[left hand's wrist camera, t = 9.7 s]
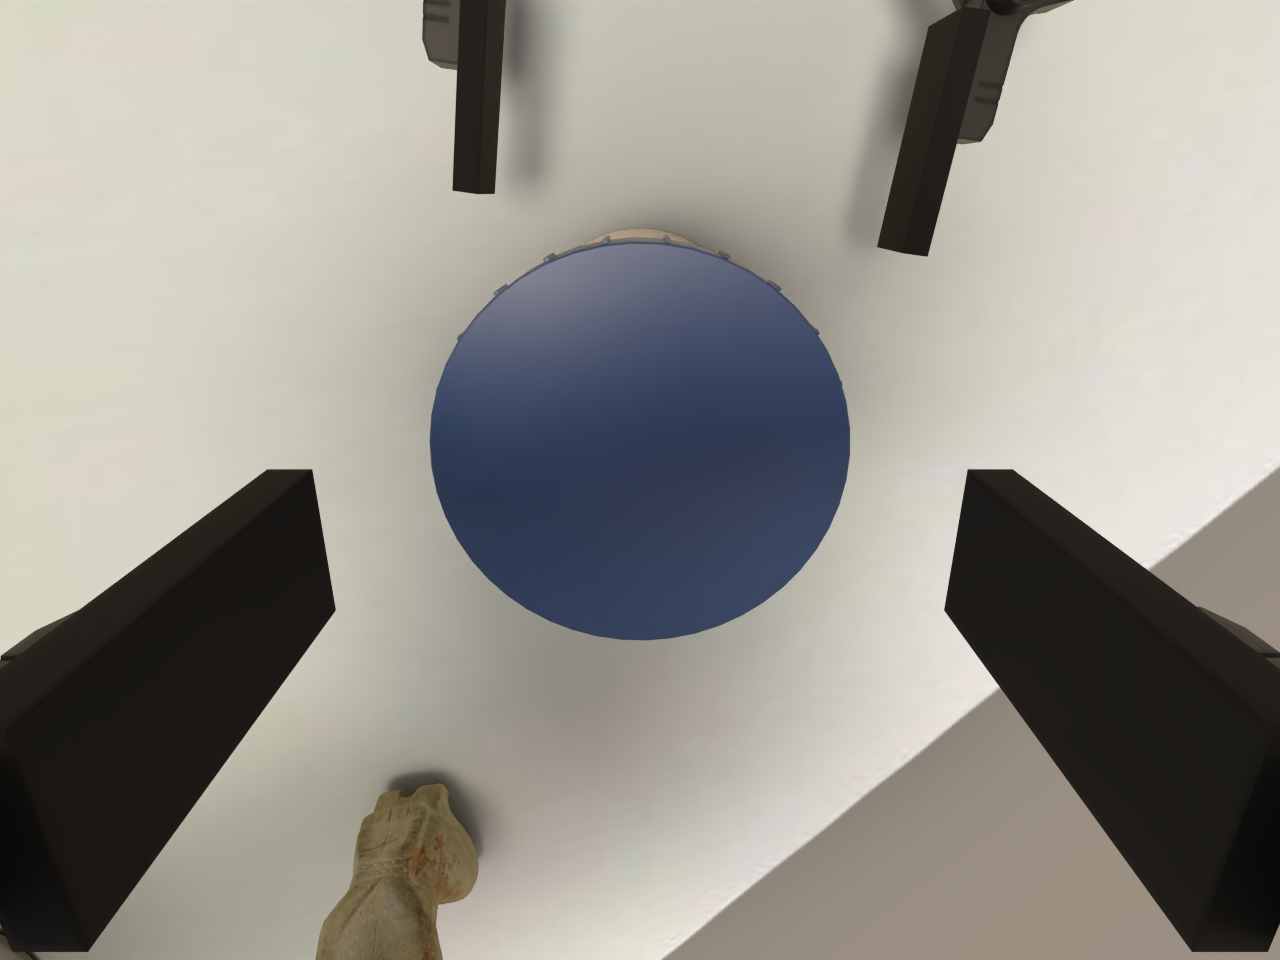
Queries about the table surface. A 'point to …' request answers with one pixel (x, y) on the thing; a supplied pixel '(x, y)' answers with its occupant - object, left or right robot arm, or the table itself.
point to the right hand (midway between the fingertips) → (690, 224)
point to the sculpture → (401, 880)
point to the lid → (640, 439)
